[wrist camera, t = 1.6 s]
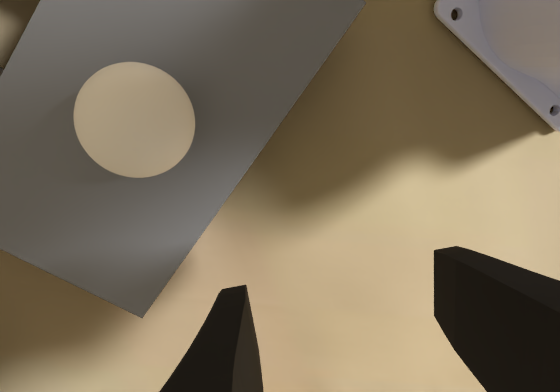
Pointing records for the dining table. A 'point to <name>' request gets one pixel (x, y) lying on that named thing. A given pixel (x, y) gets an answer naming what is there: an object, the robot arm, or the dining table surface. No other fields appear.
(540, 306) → the robot arm
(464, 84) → the dining table surface
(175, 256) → the deck
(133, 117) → the ball
